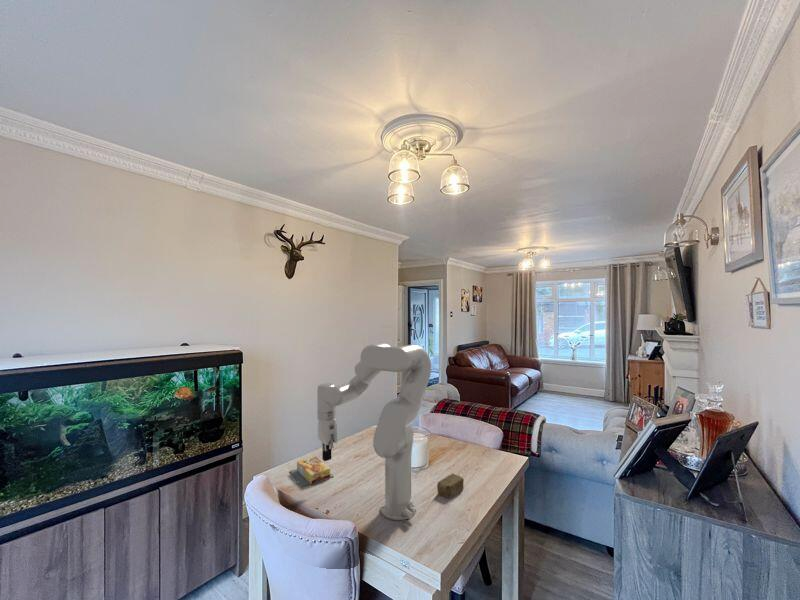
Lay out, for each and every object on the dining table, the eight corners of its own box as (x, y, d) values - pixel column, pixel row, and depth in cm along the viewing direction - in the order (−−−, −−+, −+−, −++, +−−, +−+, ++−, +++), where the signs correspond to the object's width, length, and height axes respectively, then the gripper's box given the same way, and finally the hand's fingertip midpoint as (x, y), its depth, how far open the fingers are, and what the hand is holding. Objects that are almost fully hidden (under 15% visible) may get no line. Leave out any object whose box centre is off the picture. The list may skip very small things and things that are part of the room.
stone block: (436, 494, 131) (436, 481, 131) (453, 484, 140) (453, 471, 140) (448, 500, 127) (448, 487, 127) (464, 489, 136) (464, 476, 136)
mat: (333, 477, 145) (333, 476, 145) (301, 486, 137) (301, 485, 137) (319, 463, 158) (319, 462, 158) (289, 471, 150) (289, 470, 150)
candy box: (330, 477, 143) (315, 465, 155) (330, 467, 143) (315, 456, 155) (311, 484, 138) (296, 471, 150) (311, 474, 138) (296, 461, 150)
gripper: (343, 417, 134) (343, 463, 133) (328, 408, 146) (328, 451, 145) (325, 420, 129) (325, 469, 128) (311, 411, 141) (311, 455, 141)
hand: (326, 459), depth 137 cm, fingers closed
